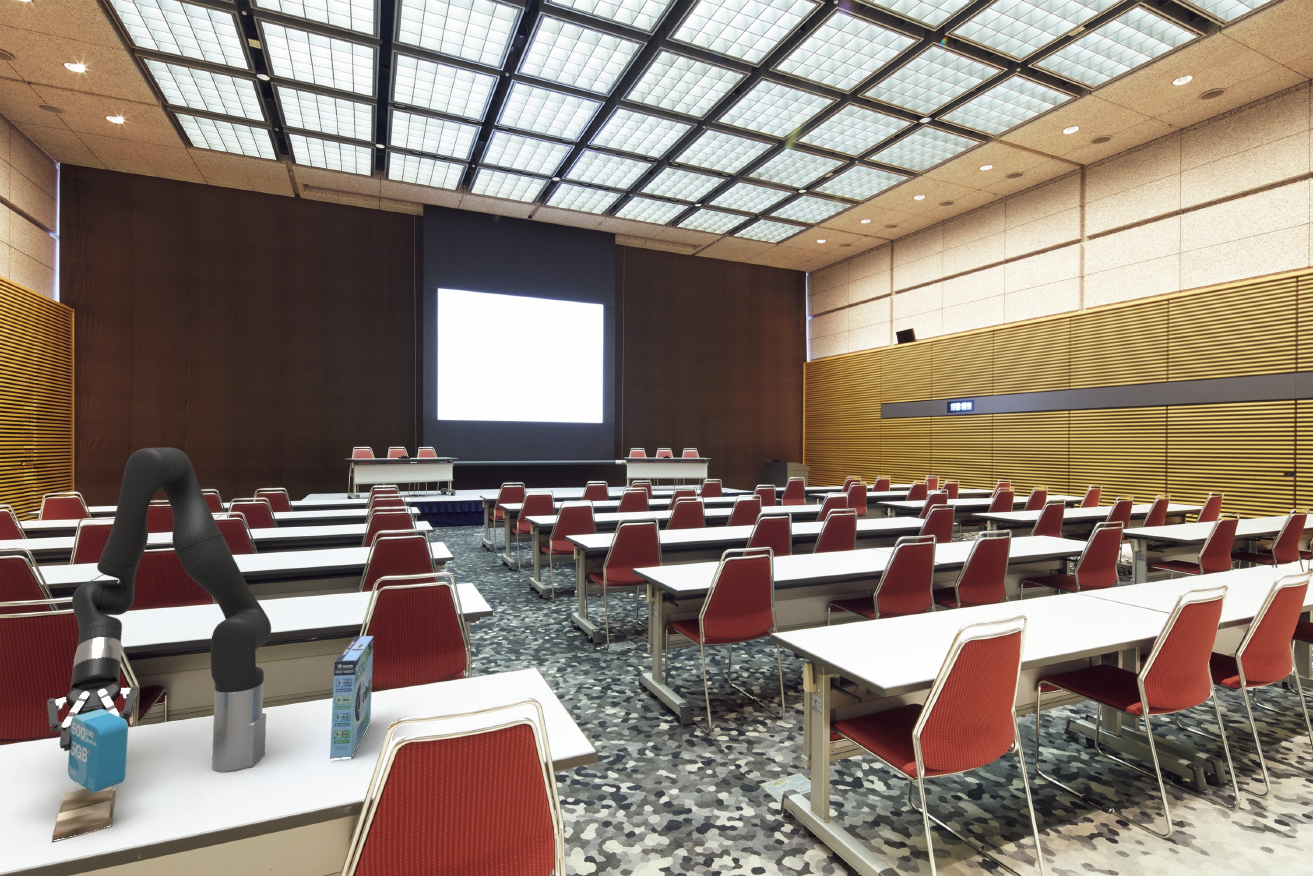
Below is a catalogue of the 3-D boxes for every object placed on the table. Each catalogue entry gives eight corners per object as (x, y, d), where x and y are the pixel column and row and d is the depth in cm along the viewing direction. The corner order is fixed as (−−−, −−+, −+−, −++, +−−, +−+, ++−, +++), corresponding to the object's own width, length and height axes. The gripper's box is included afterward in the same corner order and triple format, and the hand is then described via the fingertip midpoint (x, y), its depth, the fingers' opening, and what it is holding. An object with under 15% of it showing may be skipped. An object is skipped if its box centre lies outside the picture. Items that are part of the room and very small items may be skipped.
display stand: (115, 796, 128) (116, 780, 128) (111, 826, 117) (112, 809, 117) (61, 809, 123) (62, 792, 123) (52, 842, 112) (52, 824, 112)
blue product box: (350, 725, 162) (353, 636, 163) (372, 724, 163) (374, 635, 164) (329, 762, 143) (332, 660, 144) (353, 760, 144) (356, 659, 145)
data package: (67, 777, 121) (70, 714, 122) (96, 767, 125) (99, 706, 126) (95, 795, 116) (99, 729, 116) (125, 784, 120) (129, 720, 120)
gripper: (48, 662, 125) (35, 746, 116) (141, 650, 134) (137, 727, 125) (50, 681, 129) (38, 763, 120) (141, 668, 138) (136, 743, 129)
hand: (89, 744), depth 122 cm, fingers closed on data package, 5 cm apart
